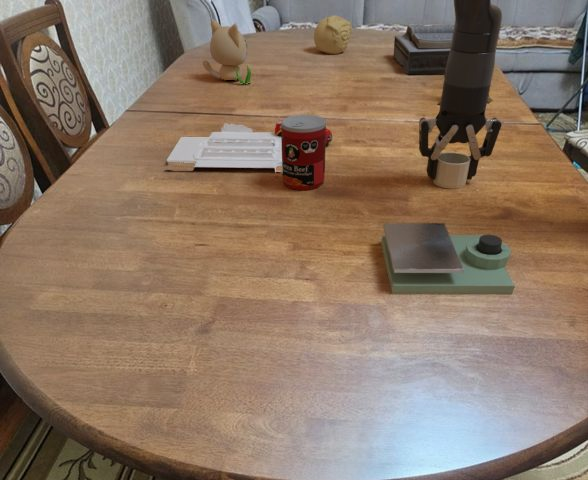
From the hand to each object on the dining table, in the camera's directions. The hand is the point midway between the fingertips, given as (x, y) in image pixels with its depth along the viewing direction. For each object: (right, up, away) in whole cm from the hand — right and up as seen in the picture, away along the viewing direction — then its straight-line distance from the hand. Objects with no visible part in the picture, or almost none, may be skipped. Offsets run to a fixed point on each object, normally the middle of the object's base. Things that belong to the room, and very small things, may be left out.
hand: (450, 177), depth 101 cm
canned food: (-27, -1, +1) cm, 27 cm away
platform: (-11, -18, -24) cm, 32 cm away
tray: (-40, +9, +13) cm, 43 cm away
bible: (+14, +57, +69) cm, 91 cm away
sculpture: (-16, +69, +85) cm, 110 cm away
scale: (-8, -20, -22) cm, 31 cm away
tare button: (-2, -18, -24) cm, 30 cm away
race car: (-27, +14, +18) cm, 35 cm away
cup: (0, -1, +1) cm, 1 cm away
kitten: (-47, +46, +58) cm, 87 cm away
